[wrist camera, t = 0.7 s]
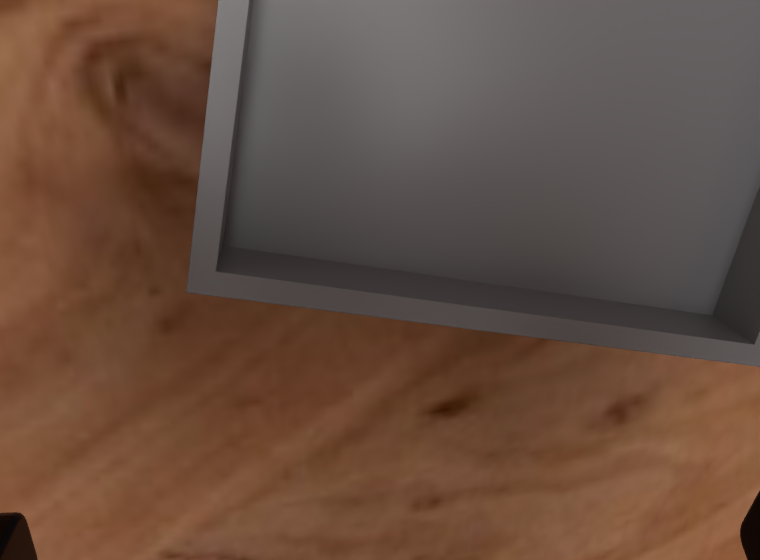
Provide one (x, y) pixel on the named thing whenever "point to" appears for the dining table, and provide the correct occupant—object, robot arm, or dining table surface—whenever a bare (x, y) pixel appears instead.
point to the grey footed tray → (491, 167)
